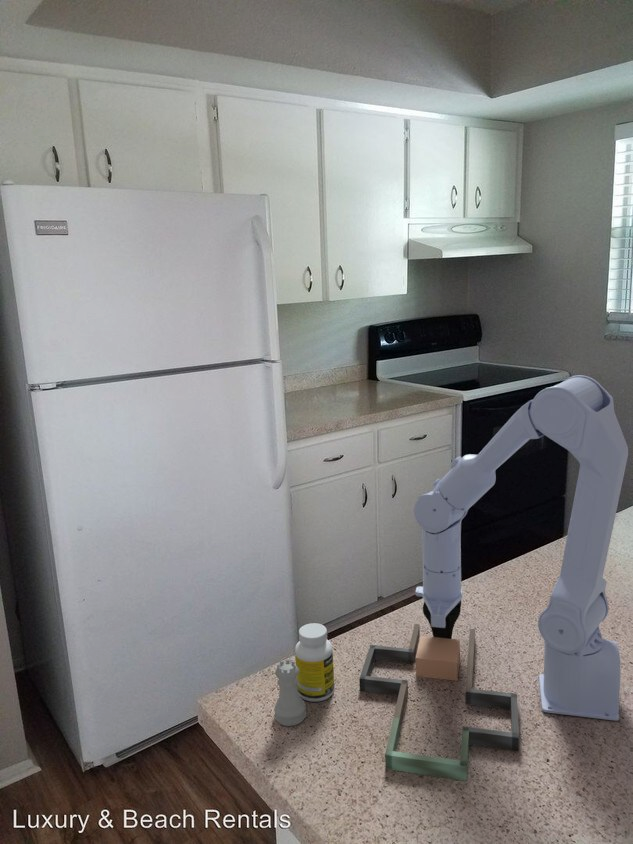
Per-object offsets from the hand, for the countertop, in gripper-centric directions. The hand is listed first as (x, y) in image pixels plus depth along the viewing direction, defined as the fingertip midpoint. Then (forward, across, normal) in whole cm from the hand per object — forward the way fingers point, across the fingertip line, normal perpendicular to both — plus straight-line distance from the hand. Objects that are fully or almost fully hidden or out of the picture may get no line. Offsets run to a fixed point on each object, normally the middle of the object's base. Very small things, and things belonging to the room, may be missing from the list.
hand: (442, 644), depth 101 cm
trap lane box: (+1, +10, 0) cm, 10 cm away
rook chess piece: (+1, +19, -19) cm, 27 cm away
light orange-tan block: (+1, +4, 0) cm, 4 cm away
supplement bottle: (+1, +13, -17) cm, 22 cm away
